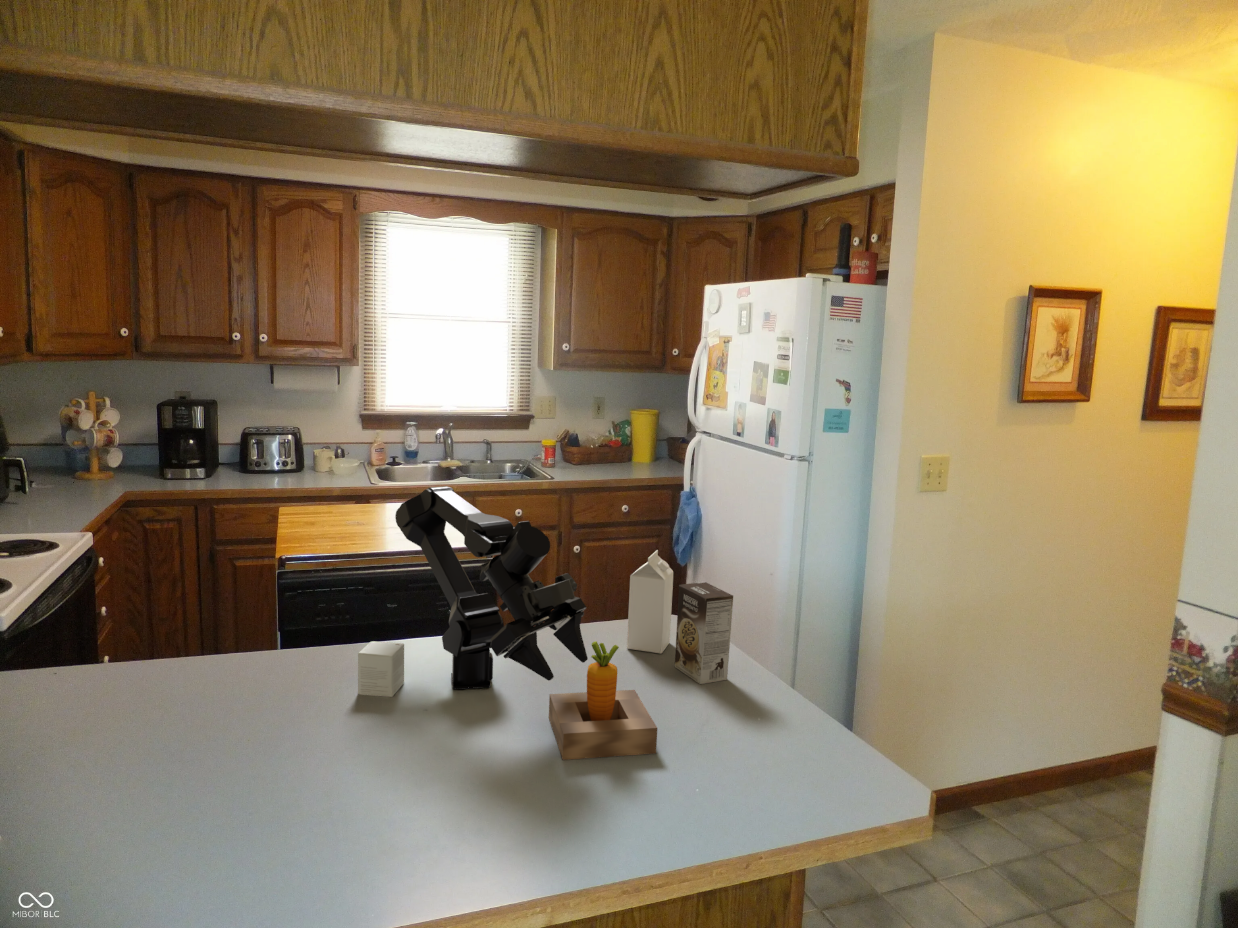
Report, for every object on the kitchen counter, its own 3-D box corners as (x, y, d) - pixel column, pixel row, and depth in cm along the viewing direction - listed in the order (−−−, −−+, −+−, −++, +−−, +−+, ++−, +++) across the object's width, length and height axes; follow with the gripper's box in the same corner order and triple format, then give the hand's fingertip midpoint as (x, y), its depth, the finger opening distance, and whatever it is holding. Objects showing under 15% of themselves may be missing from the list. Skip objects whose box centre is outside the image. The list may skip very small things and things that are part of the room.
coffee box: (672, 667, 161) (677, 584, 159) (701, 662, 164) (706, 580, 162) (699, 685, 153) (704, 597, 151) (729, 679, 156) (734, 594, 154)
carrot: (621, 730, 134) (624, 639, 131) (607, 744, 129) (611, 649, 127) (592, 723, 135) (595, 633, 133) (578, 736, 131) (581, 643, 129)
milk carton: (626, 649, 169) (630, 555, 167) (636, 637, 176) (640, 548, 173) (661, 654, 167) (666, 560, 164) (669, 642, 174) (674, 551, 171)
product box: (371, 680, 149) (371, 640, 148) (405, 683, 148) (405, 642, 147) (357, 694, 143) (357, 652, 142) (392, 697, 142) (392, 655, 141)
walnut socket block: (562, 759, 124) (563, 733, 123) (548, 717, 137) (549, 693, 137) (656, 753, 127) (657, 727, 126) (633, 712, 140) (634, 689, 140)
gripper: (507, 572, 127) (565, 661, 122) (579, 549, 142) (632, 627, 138) (466, 612, 132) (520, 699, 128) (539, 585, 147) (590, 662, 143)
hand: (569, 669), depth 134 cm, fingers open, 9 cm apart
